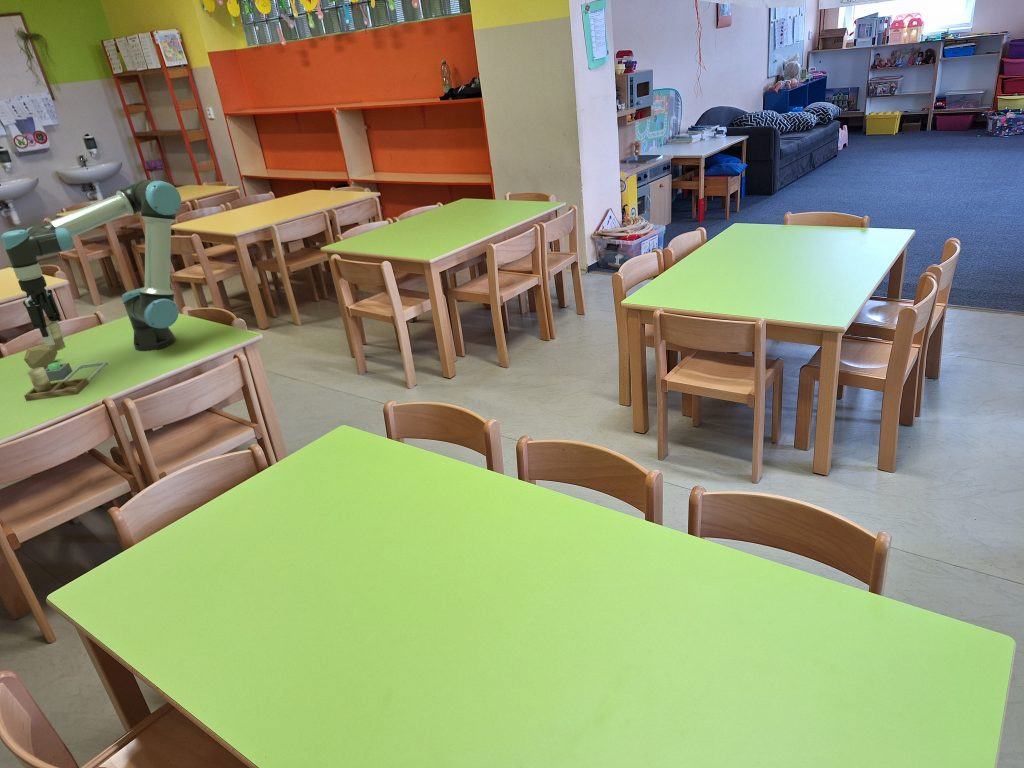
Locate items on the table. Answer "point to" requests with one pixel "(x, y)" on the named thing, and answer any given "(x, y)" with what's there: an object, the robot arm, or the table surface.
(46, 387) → the billet
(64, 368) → the console
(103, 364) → the grey-green angled strip
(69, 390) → the wooden divided tray
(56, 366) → the button
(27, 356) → the low-poly potato
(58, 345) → the billet
